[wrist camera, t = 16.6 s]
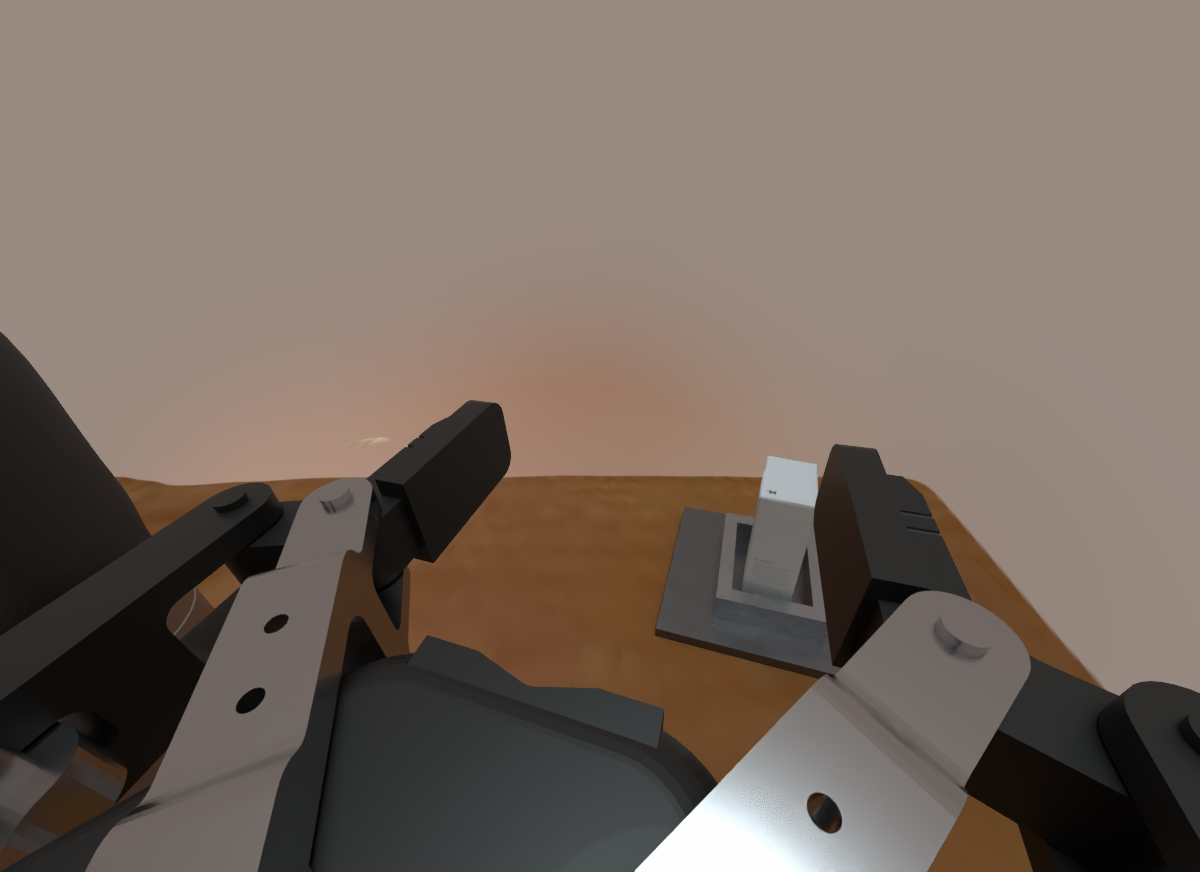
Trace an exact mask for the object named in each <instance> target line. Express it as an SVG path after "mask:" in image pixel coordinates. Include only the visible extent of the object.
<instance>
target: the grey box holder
mask: <svg viewBox="0 0 1200 872" xmlns="http://www.w3.org/2000/svg"><path fill="white" fill-rule="evenodd" d="M753 522H754V517H749V516H743V515H737V514H731V513H726V514H722V513H716V512H710V511H704V510H698V509H693V508H687V507H685V508H684V512H683V516H682V520H681V524H680V529H679V533H678V537H677V541H676V545H675V550H674V554H673V558H672V562H671V567H670V571H669V575H668V579H667V583H666V588H665V592H664V596H663V600H662V604H661V609H660V613H659V617H658V621H657V626H656V636H660V637H663V638H667V639H671V640H675V641H679V642H683V643H686V644H690V645H694V646H698V647H702V648H705V649H709V650H713V651H717V652H721V653H724V654H728V655H732V656H736V657H740V658H743V659H747V660H751V661H755V662H759V663H763V664H766V665H770V666H774V667H778V668H782V669H785V670H789V671H793V672H797V673H801V674H804V675H808V676H812V677H816V678H821V677H823V676H824V675H826V674H828V673H830V674H831V675H833V676H834V675H835V674H836V673H837V672H838V671H839V670H840V669H841V668H840V667H836V666H832V661H831V654H830V646H829V639H828V631H827V624H826V616H825V609H824V601H823V594H822V586H821V579H820V571H819V564H818V556H817V549H816V541H815V533H814V527H812V530H811V534H810V537H809V541H808V544H807V547H806V551H805V554H804V558H803V561H802V565H801V569H800V572H799V575H798V579H797V582H796V585H795V589H794V593H793V596H792V600H791V602H788V601H784V600H779V599H775V598H770V597H765V596H761V595H756V594H752V593H747V592H742V591H741V586H742V580H743V574H744V569H745V563H746V557H747V552H748V547H749V542H750V537H751V532H752V527H753Z"/></svg>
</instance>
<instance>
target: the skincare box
mask: <svg viewBox="0 0 1200 872" xmlns="http://www.w3.org/2000/svg"><path fill="white" fill-rule="evenodd" d="M817 470H818V465H817V464H811V463H806V462H800V461H794V460H789V459H783V458H778V457H773V456H767V458H766V462H765V467H764V472H763V476H762V482H761V487H760V492H759V497H758V502H757V507H756V512H755V517H754V522H753V527H752V532H751V537H750V542H749V547H748V552H747V557H746V563H745V569H744V574H743V580H742V586H741V591H742V592H747V593H752V594H756V595H761V596H765V597H770V598H775V599H779V600H784V601H788V602H791V600H792V596H793V593H794V589H795V585H796V582H797V579H798V575H799V572H800V569H801V565H802V561H803V558H804V554H805V551H806V547H807V544H808V541H809V537H810V534H811V530H812V527H813V522H814V508H815V503H816V499H817V495H818V471H817Z"/></svg>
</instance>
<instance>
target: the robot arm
mask: <svg viewBox="0 0 1200 872" xmlns="http://www.w3.org/2000/svg"><path fill="white" fill-rule="evenodd" d="M510 460H511V451H510V446H509V441H508V436H507V431H506V426H505V421H504V416H503V411H502V408H501V407H500V406H499V404H497V403H491V402H483V401H474V400H470V401H468V402H466V403H465V404H464V405H463V406H462V407H460V408H459V409H458V410H457V411H455V412H454V413H453V414H452V415H451V416H449V417H448V418H445V419H443V420H441V421H439V422H437V423H435V424H433V425H432V426H431V427H429V428H428V429H427V430H426V431H424V432H423V433H422V434H421V435H420V436H419V438H416V439H415V440H413V441H412V442H411V443H410V444H408V447H405V448H404V449H402V450H401V451H400V452H399V453H397V454H396V455H395V456H394V457H393V458H391V459H390V460H389V461H388V462H386V463H385V464H384V465H383V466H382V467H380V468H379V469H378V470H377V471H376V472H374V473H373V474H372V475H371V476H369V477H368V478H367V479H363V478H345V479H340V480H336V481H333V482H331V483H328V484H326V485H323V486H322V487H320V488H318V489H316V490H315V491H313V492H312V493H311V494H309V495H308V496H307V497H306V498H305V499H304V500H303V501H287V502H279V500H278V499H277V497H276V496H275V494H274V492H273V491H272V489H271V487H270V486H269V485H267V484H264V483H248V484H243V485H239V486H236V487H232V488H230V489H227V490H225V491H222V492H220V493H218V494H216V495H214V496H213V497H211V498H209V499H208V500H206V501H205V502H203V503H202V504H200V505H198V506H197V507H195V508H194V509H192V510H191V511H189V512H188V513H186V514H185V515H183V516H182V517H180V518H179V519H177V520H176V521H174V522H173V523H171V524H170V525H168V526H167V527H165V528H164V529H162V530H160V531H159V532H157V533H156V534H154V535H153V536H151V534H150V533H149V532H148V530H147V528H146V527H145V525H144V523H143V521H142V519H141V517H140V516H139V514H138V512H137V510H136V508H135V506H134V504H133V503H132V501H131V499H130V498H129V496H128V494H127V493H126V491H125V490H124V489H123V487H122V486H121V485H120V483H119V482H118V481H117V479H116V478H115V477H114V476H113V474H112V473H111V472H110V471H109V469H108V468H107V467H106V466H105V464H104V463H103V462H102V460H101V459H100V458H99V456H98V455H97V454H96V452H95V451H94V450H93V448H92V447H91V446H90V444H89V443H88V442H87V440H86V439H85V438H84V436H83V435H82V434H81V432H80V431H79V429H78V428H77V426H76V425H75V424H74V422H73V421H72V419H71V418H70V417H69V415H68V414H67V412H66V411H65V410H64V408H63V407H62V405H61V404H60V402H59V401H58V400H57V398H56V397H55V395H54V394H53V393H52V391H51V390H50V388H49V387H48V386H47V385H46V383H45V382H44V381H43V379H42V378H41V377H40V375H39V374H38V373H37V371H36V370H35V369H34V368H33V367H32V365H31V364H30V362H29V361H28V360H27V359H26V358H25V357H24V356H23V355H22V354H21V353H20V351H19V350H18V349H17V348H16V347H15V346H14V345H13V344H12V343H11V342H10V341H9V339H8V338H7V337H5V335H3V334H2V333H1V332H0V872H927V870H928V869H929V867H930V865H931V863H932V862H933V860H934V858H935V856H936V855H937V853H938V851H939V849H940V848H941V846H942V844H943V842H944V841H945V839H946V837H947V835H948V833H949V832H950V830H951V828H952V826H953V825H954V823H955V821H956V819H957V818H958V816H959V814H960V812H961V810H962V808H963V806H964V804H965V802H966V799H967V796H968V794H969V795H971V796H972V797H974V798H976V799H977V800H979V801H981V802H982V803H984V804H986V805H987V806H989V807H991V808H992V809H994V810H996V811H997V812H999V813H1001V814H1002V815H1004V816H1006V817H1007V818H1009V819H1011V820H1012V821H1014V822H1016V823H1017V824H1018V826H1019V829H1020V832H1021V835H1022V839H1023V842H1024V845H1025V848H1026V851H1027V854H1028V857H1029V860H1030V863H1031V866H1032V869H1033V872H1200V693H1198V692H1195V691H1192V690H1190V689H1187V688H1184V687H1180V686H1177V685H1174V684H1168V683H1164V682H1154V681H1147V682H1140V683H1136V684H1134V685H1132V686H1131V687H1130V688H1129V689H1127V690H1126V691H1125V692H1123V693H1122V694H1121V695H1120V696H1118V695H1116V694H1113V693H1111V692H1109V691H1106V690H1104V689H1102V688H1099V687H1097V686H1095V685H1093V684H1090V683H1088V682H1086V681H1083V680H1081V679H1079V678H1076V677H1074V676H1072V675H1070V674H1067V673H1065V672H1063V671H1060V670H1058V669H1056V668H1053V667H1051V666H1049V665H1047V664H1045V663H1043V662H1041V661H1039V660H1036V659H1035V658H1033V657H1031V656H1029V654H1028V652H1027V650H1026V648H1025V646H1024V644H1023V643H1022V642H1021V640H1020V639H1019V637H1018V636H1017V635H1016V634H1015V633H1014V632H1013V630H1012V629H1011V628H1010V627H1009V626H1008V625H1006V624H1005V623H1004V622H1003V621H1002V620H1001V619H999V618H998V617H997V616H996V615H994V614H993V613H991V612H990V611H988V610H987V609H985V608H984V607H982V606H980V605H978V604H976V603H974V602H972V600H971V598H970V596H969V594H968V591H967V589H966V587H965V585H964V583H963V581H962V579H961V576H960V574H959V572H958V570H957V568H956V566H955V563H954V561H953V559H952V557H951V555H950V553H949V551H948V548H947V546H946V544H945V542H944V540H943V538H942V536H939V532H940V531H939V529H938V527H937V525H936V523H935V520H934V519H932V518H931V516H932V514H931V512H930V510H929V508H928V505H927V503H926V501H925V499H924V497H923V495H922V494H921V493H920V492H919V491H918V490H917V489H916V488H915V487H913V486H912V485H911V484H910V483H909V482H908V481H907V480H906V479H905V478H904V477H902V476H894V475H887V474H886V472H885V469H884V467H883V464H882V462H881V459H880V456H879V454H878V452H877V450H876V449H873V448H864V447H856V446H847V445H839V444H835V445H834V446H833V447H832V449H831V452H830V455H829V458H828V462H827V465H826V468H825V472H824V475H823V478H822V482H821V485H820V488H819V492H818V495H817V499H816V503H815V508H814V522H813V523H814V533H815V541H816V549H817V556H818V564H819V571H820V579H821V586H822V594H823V601H824V609H825V616H826V624H827V631H828V639H829V646H830V654H831V661H832V666H836V667H840V668H841V669H840V670H839V671H838V672H837V673H836V674H835V675H834V676H833V675H831V674H830V673H828V674H826V675H824V676H823V677H821V678H820V679H819V680H818V681H817V682H816V683H815V684H814V685H813V686H812V687H811V688H810V689H809V690H808V691H807V692H806V693H805V694H804V695H803V696H802V697H801V698H800V699H799V700H798V701H797V702H796V703H795V704H794V705H793V707H792V708H791V709H790V710H789V711H788V712H787V713H786V714H785V715H784V716H783V717H782V718H781V719H780V720H779V721H778V722H777V723H776V724H775V725H774V726H773V727H772V728H771V729H770V731H769V732H768V733H767V734H766V735H765V736H764V737H763V738H762V739H761V740H760V741H759V742H758V743H757V744H756V745H755V746H754V747H753V748H752V749H751V750H750V751H749V752H748V753H747V755H746V756H745V757H744V758H743V759H742V760H741V761H740V762H739V763H738V764H737V765H736V766H735V767H734V768H733V769H732V770H731V771H730V772H729V773H728V774H727V775H726V776H725V778H724V779H723V780H722V781H721V782H720V783H719V784H718V783H717V782H716V780H715V779H714V778H713V776H712V775H711V774H710V772H709V771H708V770H707V769H706V767H705V766H704V765H703V764H702V763H701V762H700V761H699V760H698V759H697V758H696V757H695V756H694V755H693V754H692V753H691V752H690V751H689V750H688V749H687V748H686V747H684V746H683V745H682V744H681V743H680V742H679V741H677V740H676V739H675V738H673V737H672V736H670V735H669V734H667V733H666V732H665V731H663V720H664V709H662V708H659V707H656V706H653V705H650V704H646V703H643V702H640V701H637V700H634V699H630V698H627V697H624V696H621V695H617V694H614V693H611V692H608V691H605V690H601V689H598V688H564V687H533V686H528V685H525V684H524V683H522V682H521V681H519V680H518V679H516V678H515V677H514V676H512V675H511V674H509V673H508V672H507V671H505V670H504V669H502V668H501V667H500V666H498V665H497V664H495V663H494V662H493V661H491V660H490V659H488V658H487V657H486V656H484V655H483V654H482V653H480V652H479V651H476V650H473V649H470V648H467V647H464V646H460V645H457V644H454V643H451V642H448V641H444V640H441V639H438V638H435V637H431V636H428V635H427V636H426V638H425V639H424V640H423V642H422V643H421V645H420V646H419V648H418V649H417V650H416V652H415V653H411V654H410V652H409V645H408V628H409V602H410V571H409V568H408V566H407V565H408V564H409V563H410V562H411V560H412V559H413V558H416V559H420V560H424V561H427V562H431V563H434V562H435V561H436V560H437V558H438V557H439V556H440V555H441V553H442V552H443V551H444V550H445V548H446V547H447V546H448V545H449V543H450V542H451V541H452V540H453V538H454V537H455V536H456V535H457V534H458V532H459V531H460V530H461V529H462V527H463V526H464V525H465V524H466V522H467V521H468V520H469V519H470V517H471V516H472V515H473V514H474V512H475V511H476V510H477V509H478V507H479V506H480V505H481V504H482V503H483V501H484V500H485V499H486V498H487V496H488V495H489V494H490V493H491V491H492V490H493V489H494V488H495V486H496V485H497V484H498V483H499V481H500V480H501V479H502V478H503V476H504V475H505V474H506V472H507V470H508V468H509V465H510ZM224 563H225V564H226V566H227V567H228V568H229V569H230V571H231V572H232V573H233V575H234V576H235V577H236V578H237V580H238V581H239V582H240V583H241V587H239V588H238V589H237V590H236V591H235V592H234V593H233V594H231V595H230V596H229V597H228V598H227V599H226V600H225V601H224V602H222V603H221V604H220V605H219V606H218V607H217V608H216V609H215V608H214V607H213V606H212V605H211V604H210V603H209V601H208V600H207V599H206V598H205V597H204V596H203V594H202V593H201V592H200V591H199V590H198V589H197V588H196V586H197V585H198V584H200V583H201V582H202V581H203V580H204V579H206V578H207V577H208V576H209V575H211V574H212V573H213V572H214V571H216V570H217V569H218V568H219V567H221V566H222V565H223V564H224Z"/></svg>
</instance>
